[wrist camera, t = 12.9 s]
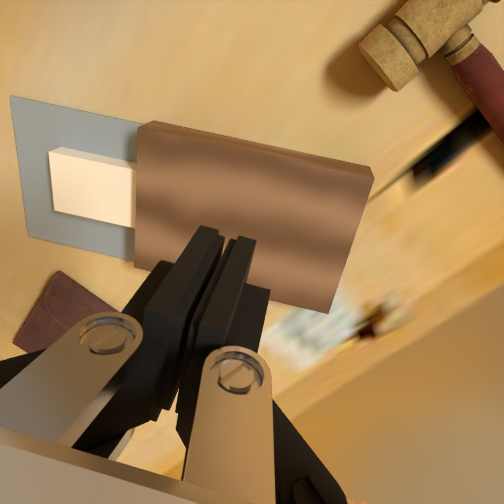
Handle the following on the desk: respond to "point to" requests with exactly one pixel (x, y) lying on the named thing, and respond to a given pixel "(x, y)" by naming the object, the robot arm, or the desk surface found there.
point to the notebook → (58, 313)
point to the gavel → (447, 42)
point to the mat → (39, 176)
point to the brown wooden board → (250, 207)
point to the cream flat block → (93, 186)
